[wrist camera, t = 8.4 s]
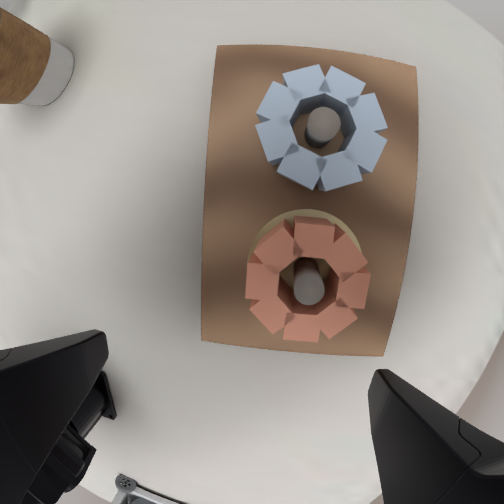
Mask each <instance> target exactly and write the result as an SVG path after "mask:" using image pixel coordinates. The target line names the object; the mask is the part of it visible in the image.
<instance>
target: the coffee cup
mask: <svg viewBox="0 0 504 504" xmlns="http://www.w3.org/2000/svg"><path fill="white" fill-rule="evenodd" d="M73 67H74V57H73V54H72V52H71V51H70V50H69V49H67V48H66V47H64V46H63V45H61V44H59V43H58V42H56V41H54V40H52V39H51V38H49V37H48V36H47V35H45V34H44V33H42V32H40V31H39V30H37V29H36V28H34V27H32V26H31V25H29V24H28V23H26V22H24V21H23V20H21V19H19V18H18V17H16V16H14V15H12V14H11V13H9V12H7V11H5V10H4V9H2V8H0V104H26V105H38V106H44V105H48V104H50V103H51V102H53V101H54V100H55V99H57V98H58V97H59V95H60V94H61V93H62V92H63V90H64V89H65V87H66V86H67V84H68V82H69V80H70V78H71V75H72V72H73Z"/></svg>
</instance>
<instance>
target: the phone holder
mask: <svg viewBox="0 0 504 504" xmlns="http://www.w3.org/2000/svg"><path fill="white" fill-rule="evenodd" d="M123 480H125V481H123ZM127 481H129V482H127ZM121 483H122V484H121ZM115 484H116V487H117V488H118V489H119V490H118V492H117V494H116V495H115V497H114V499H113V501H112V503H111V504H178V503H176V502H173V501H170V500H167V499H165V498H162V497H160V496H157V495H155V494H152V493H150V492H148V491H145V490H143V489H141V488H138V487H136V482H135V480H133V479H131V478H129V477H127V476H125V475H119V476H117V478H116V480H115Z"/></svg>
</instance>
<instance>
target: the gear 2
mask: <svg viewBox="0 0 504 504" xmlns="http://www.w3.org/2000/svg"><path fill="white" fill-rule="evenodd" d="M299 256H300V257H311V258H321V259H325V260H326V261H327V263H328V264H329V265H330V270H329V277H328V280H327V281H326V282H324V283H323V284H324V288H325V292H324V296H323V298H322V299H321V300H320V301H319V302H318V303H316V304H313V305H304V304H302V303H300V302H299V301H298V300H297V299H296V297H295V295H294V290H292V289H291V287H290V286H289V285H288V284H287V283H286V282H285V281H284V279H283V278H282V277H281V276H280V271H282V270H283V269H284V268H285V267H287V266H288V265H289V264H290V263H292V262H293V261H294V260H295V259H297V258H298V257H299ZM367 263H368V261H367V260H366V259H365V257H364V256H363V255H362V253H361V252H360V251H359V249H358V248H357V247H356V245H355V244H354V243H353V241H352V240H351V239H350V237H349V236H348V235H347V233H346V232H345V231H343V230H342V229H341V228H340V227H339V226H338V225H337V224H336V223H335V224H334V225H333V224H332V223H331V222H330V221H329V220H328V219H327V218H318V217H307V216H297V215H295V216H294V227H293V228H292V227H291V225H290V224H289V223H288V222H287V221H286V220H285V218H284V219H283V220H282V221H281V222H280V223H278V224H277V225H276V226H275V227H274V228H272V229H271V230H270V231H269V232H268V233H267V234H265V235H264V236H263V237H262V238H261V239H260V240H259V242H258V244H257V245H256V247H255V249H254V251H253V253H252V255H251V257H250V259H249V261H248V262H247V277H246V293H245V299H252V302H251V305H250V308H249V310H250V311H251V312H252V313H253V314H254V315H255V316H256V317H257V318H258V319H259V320H260V322H261V323H262V324H263V325H264V326H265V327H266V328H267V329H268V330H269V331H270V332H271V333H272V334H274V333H276V332H277V331H278V330H280V329H281V328H283V327H284V330H283V340H294V341H306V342H318V339H319V334H320V329H321V331H322V332H323V333H324V334H325V335H326V336H327V338H328V339H330V338H332V337H333V336H335V335H336V334H337V333H339V332H340V331H342V330H343V329H344V328H346V327H347V326H349V325H350V324H351V323H353V322H354V321H355V320H357V319H358V318H357V315H356V313H355V311H354V309H353V308H358V309H364V308H365V303H366V298H367V293H368V287H369V282H370V276H371V273H370V272H369V271H368V270H367V269H366V267H365V265H366V264H367Z"/></svg>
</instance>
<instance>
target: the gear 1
mask: <svg viewBox="0 0 504 504" xmlns="http://www.w3.org/2000/svg"><path fill="white" fill-rule="evenodd" d="M283 84H284V85H282V84H279V83H277V82H275V81H273V82H272V84H271V86H270V88H269V89H268V91H267V93H266V95H265V97H264V99H263V101H262V102H261V104H260V106H259V108H258V110H257V112H256V114H257V116H258V118H259V120H260V122H261V123H260V124H257V125H255V126H256V129H257V132H258V135H259V138H260V140H261V143H262V146H263V149H264V152H265V155H266V158H267V160H268V162H269V163H270V164H271V165H272V166H274V165H278V164H280V166H279V168H278V170H277V172H278V173H279V174H280V175H282V176H284V177H286V178H288V179H290V180H292V181H294V182H296V183H298V184H300V185H302V186H304V187H306V188H307V189H311V190H313V188H314V187H315V185H316V183H317V186H318V189H319V190H321V191H328V190H332V189H335V188H339V187H342V186H345V185H349V184H352V183H356V182H359V181H363V180H362V177H361V174H366V173H372V171H373V169H374V167H375V165H376V163H377V161H378V159H379V157H380V155H381V153H382V151H383V148H384V146H385V144H386V142H387V139H385V138H384V137H382V136H380V135H379V134H378V133H380V132H381V131H383V130H385V129H387V128H388V127H387V124H386V121H385V119H384V116H383V113H382V111H381V108H380V106H379V103H378V100H377V98H376V96H375V93H370V94H365V95H361V93H362V90H363V88H364V86H365V84H366V83H364V82H362V81H361V80H359V79H357V78H355V77H353V76H351V75H349V74H347V73H345V72H343V71H341V70H339V69H337V68H335V67H333V66H331V67H330V69H329V71H328V73H327V75H326V77H324V74H323V72H322V70H321V68H320V65H319V64H317V65H313V66H309V67H305V68H301V69H298V70H294V71H290V72H287V73H283ZM360 95H361V96H360ZM319 107H328V108H330V109H332V110H334V111H335V112H336V113H337V114H338V116H339V118H340V121H341V126H340V129H341V132H342V134H343V137H344V140H343V142H342V144H341V146H340V148H339V150H338V152H337V153H334V154H331V155H327V156H324V157H321V156H319V155H317V154H315V153H313V152H311V151H309V150H307V149H305V148H303V147H301V146H299V145H298V144H297V141H296V138H295V135H294V132H293V130H292V128H293V126H294V124H295V122H296V120H297V118H298V116H299V115H303V114H306V113H310V112H312V111H313V110H315V109H316V108H319Z"/></svg>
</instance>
